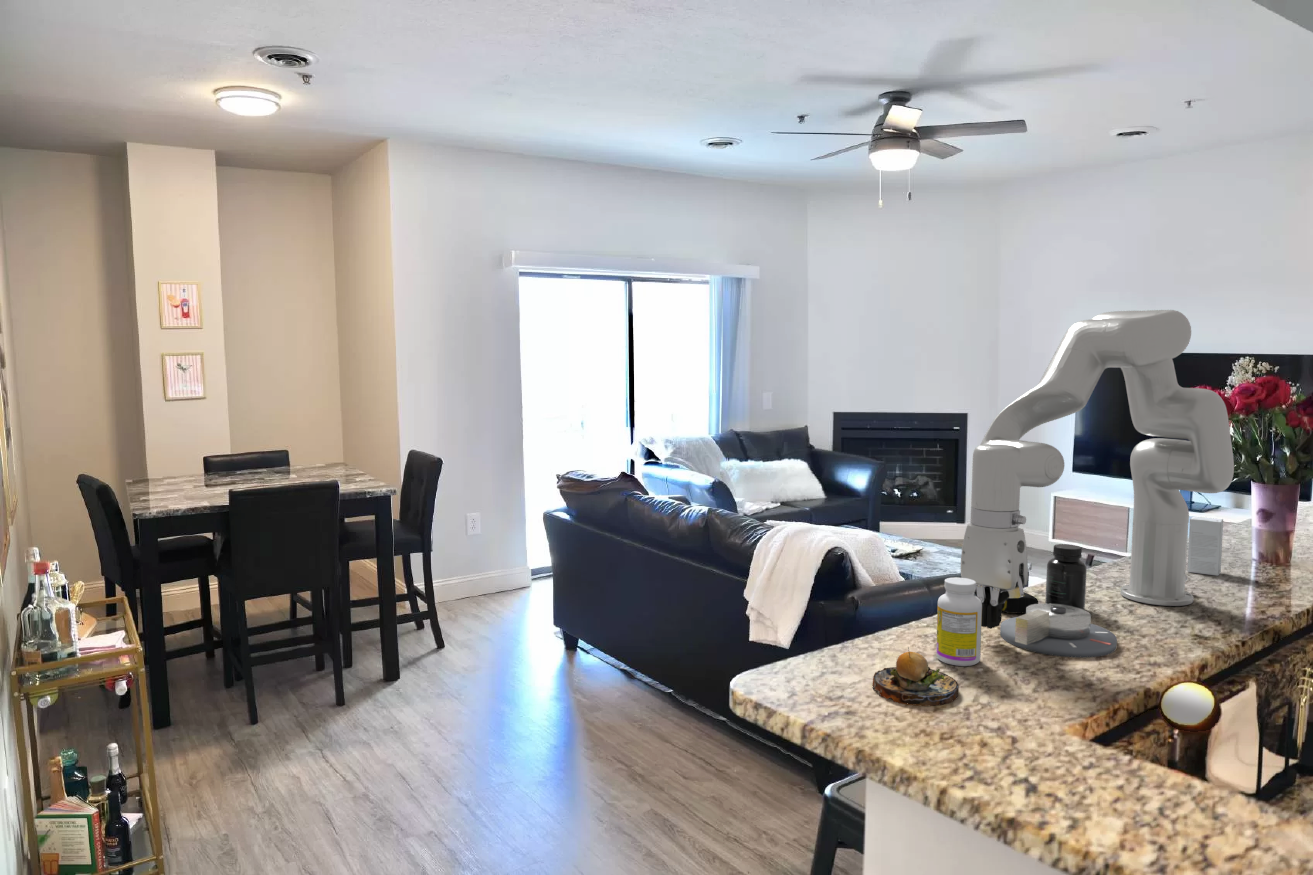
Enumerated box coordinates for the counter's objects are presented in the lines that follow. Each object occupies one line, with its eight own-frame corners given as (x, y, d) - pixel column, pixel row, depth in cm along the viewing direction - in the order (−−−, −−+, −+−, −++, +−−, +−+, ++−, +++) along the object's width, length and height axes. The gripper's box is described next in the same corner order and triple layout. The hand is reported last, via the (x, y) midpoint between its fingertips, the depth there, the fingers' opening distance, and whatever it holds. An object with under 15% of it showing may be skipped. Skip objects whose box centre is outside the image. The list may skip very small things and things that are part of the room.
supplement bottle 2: (1065, 602, 175) (1068, 541, 173) (1093, 611, 168) (1096, 549, 167) (1037, 605, 172) (1039, 544, 171) (1063, 615, 166) (1066, 551, 165)
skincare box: (1221, 572, 198) (1224, 519, 197) (1218, 576, 194) (1222, 522, 193) (1189, 568, 201) (1192, 515, 200) (1186, 572, 198) (1189, 518, 197)
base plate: (1033, 617, 165) (1033, 609, 165) (1135, 641, 151) (1135, 633, 151) (979, 637, 153) (979, 628, 153) (1085, 665, 140) (1085, 656, 139)
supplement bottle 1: (948, 650, 147) (951, 573, 146) (987, 660, 142) (990, 580, 141) (928, 660, 142) (930, 580, 141) (967, 670, 137) (970, 588, 136)
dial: (1043, 616, 159) (1044, 594, 159) (1100, 630, 151) (1102, 606, 151) (992, 636, 148) (993, 611, 148) (1050, 651, 141) (1052, 626, 140)
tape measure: (1039, 615, 167) (1040, 595, 166) (1007, 618, 165) (1008, 598, 165) (1016, 605, 173) (1017, 586, 173) (985, 607, 172) (986, 588, 171)
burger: (975, 696, 128) (977, 645, 127) (918, 714, 122) (919, 661, 121) (910, 671, 138) (912, 624, 137) (854, 686, 132) (855, 637, 131)
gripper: (1049, 522, 146) (1044, 632, 148) (966, 510, 157) (962, 612, 159) (1025, 528, 141) (1021, 641, 143) (942, 515, 153) (938, 620, 154)
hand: (990, 625), depth 151 cm, fingers closed
